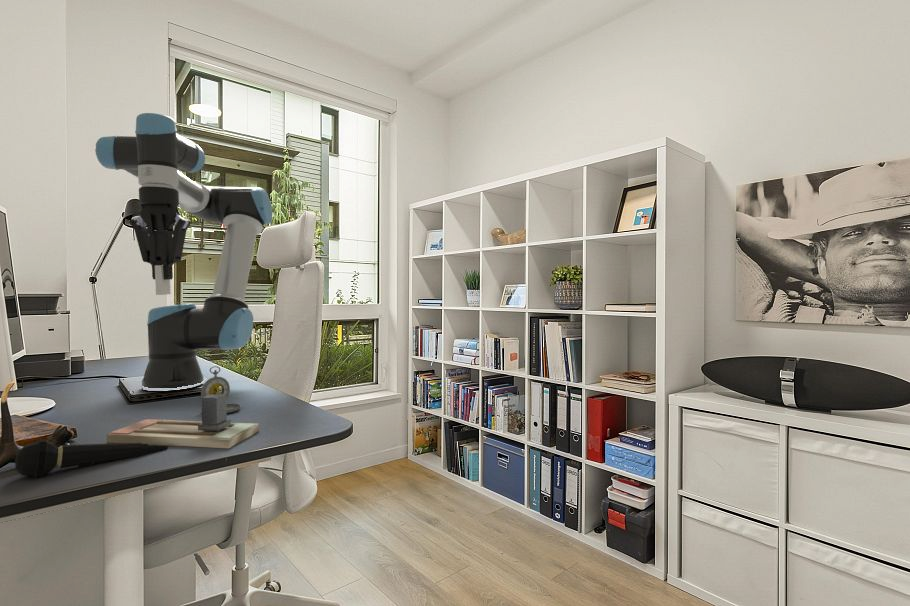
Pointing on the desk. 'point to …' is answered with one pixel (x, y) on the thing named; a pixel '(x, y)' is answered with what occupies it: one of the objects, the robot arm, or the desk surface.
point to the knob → (214, 413)
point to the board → (182, 434)
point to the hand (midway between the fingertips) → (163, 294)
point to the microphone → (74, 455)
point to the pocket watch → (218, 389)
